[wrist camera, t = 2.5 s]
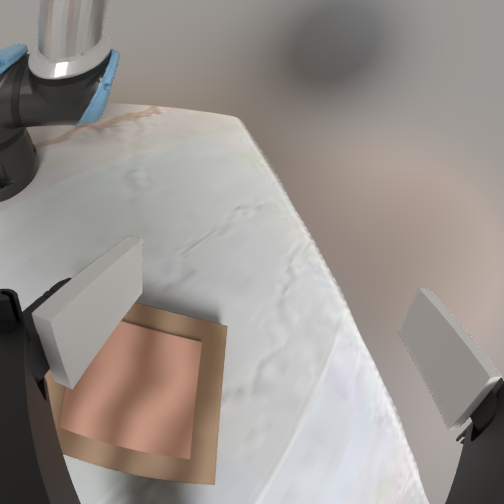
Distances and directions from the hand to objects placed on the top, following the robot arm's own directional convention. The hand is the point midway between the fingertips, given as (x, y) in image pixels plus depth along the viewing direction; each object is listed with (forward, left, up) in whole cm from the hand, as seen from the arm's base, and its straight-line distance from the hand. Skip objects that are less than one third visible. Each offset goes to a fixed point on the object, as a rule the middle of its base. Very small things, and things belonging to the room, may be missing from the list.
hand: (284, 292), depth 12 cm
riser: (-6, -2, -25) cm, 26 cm away
